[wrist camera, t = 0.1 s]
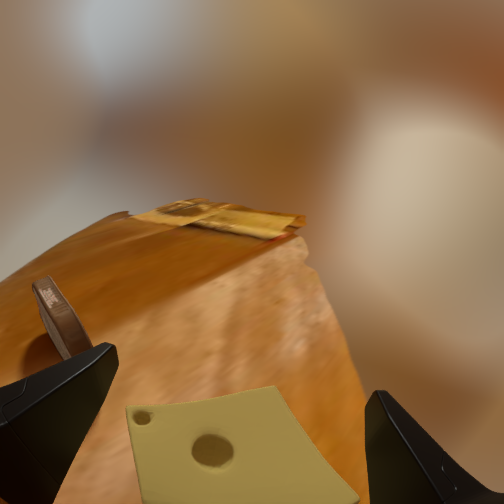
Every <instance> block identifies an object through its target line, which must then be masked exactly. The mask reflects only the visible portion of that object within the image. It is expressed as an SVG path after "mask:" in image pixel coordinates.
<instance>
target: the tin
mask: <svg viewBox="0 0 504 504" xmlns="http://www.w3.org/2000/svg"><path fill="white" fill-rule="evenodd" d="M32 289H33V292H34V294H35V297H36V300H37V303H38V307H39V312H40V316H41V318H42V321H43V323H44V325H45V328H46V330H47V332H48V334H49V336H50V338H51V340H52V341H53V343H54V345H55V347H56V349H57V350H58V352H59V354H60V355H61V357H62V359H63V360H66V359H69V358H71V357H73V356H75V355H77V354H80V353H82V352H84V351H86V350H88V349H91V348H93V345H92V343H91V341H90V339H89V337H88V334H87V332H86V330H85V329H84V327H83V325H82V323H81V321H80V319H79V317H78V315H77V314H76V312H75V311H74V309H73V308H72V306H71V305H70V303H69V302H68V301H67V299H66V298H65V297H64V295H63V294H62V293H61V291H60V290H59V288H58V287H57V285H56V284H55V282H54V281H53V279H52V278H51V277H50V276H49V275H48V276H47V277H45V278H43V279H40V280H37V281H35V282H33V283H32Z"/></svg>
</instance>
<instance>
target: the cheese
mask: <svg viewBox="0 0 504 504" xmlns="http://www.w3.org/2000/svg"><path fill="white" fill-rule="evenodd" d="M126 418H127V424H128V430H129V435H130V440H131V446H132V451H133V455H134V461H135V466H136V471H137V476H138V481H139V487H140V492H141V498H142V502H143V504H358V503H359V501H360V498H359V496H358V495H357V494H356V493H355V492H354V490H353V489H352V488H351V487H350V486H349V485H348V484H347V483H346V482H345V481H344V480H343V479H342V478H341V477H340V476H339V475H338V474H337V472H336V471H335V470H334V469H333V468H332V467H331V466H330V465H329V464H328V462H327V461H326V460H325V459H324V458H323V456H322V455H321V453H320V452H319V451H318V449H317V448H316V447H315V445H314V444H313V442H312V441H311V439H310V438H309V437H308V435H307V434H306V432H305V431H304V429H303V428H302V427H301V425H300V424H299V422H298V421H297V419H296V418H295V416H294V415H293V413H292V412H291V410H290V409H289V407H288V405H287V404H286V402H285V401H284V399H283V397H282V396H281V394H280V392H279V390H278V389H277V387H276V386H269V387H263V388H257V389H252V390H247V391H243V392H239V393H234V394H230V395H225V396H221V397H216V398H211V399H205V400H199V401H192V402H185V403H176V404H163V405H132V406H126Z"/></svg>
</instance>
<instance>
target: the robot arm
mask: <svg viewBox="0 0 504 504" xmlns="http://www.w3.org/2000/svg"><path fill="white" fill-rule="evenodd" d="M118 366H119V360H118V355H117V349H116V346H115V345H113V344H110V343H107V342H104V343H101V344H99V345H97V346H95V347H93V348H91V349H88V350H86V351H84V352H82V353H80V354H77V355H75V356H73V357H71V358H69V359H66V360H64V361H62V362H60V363H57V364H55V365H53V366H51V367H49V368H46V369H44V370H42V371H40V372H37V373H35V374H33V375H30V376H29V377H26V378H24V379H21V380H19V381H16V382H14V383H12V384H9V385H6V386H3V387H0V504H53V502H54V500H55V498H56V495H57V493H58V491H59V489H60V487H61V486H60V485H61V484H62V482H63V480H64V478H65V476H66V474H67V472H68V470H69V468H70V466H71V464H72V462H73V460H74V458H75V456H76V454H77V452H78V450H79V448H80V446H81V444H82V442H83V440H84V438H85V436H86V434H87V432H88V430H89V429H90V427H91V425H92V423H93V421H94V419H95V417H96V415H97V414H98V412H99V410H100V408H101V406H102V404H103V402H104V400H105V398H106V396H107V393H108V391H109V388H110V386H111V384H112V381H113V379H114V376H115V374H116V372H117V369H118ZM365 452H366V461H367V471H368V483H369V495H370V504H504V493H497V492H494V491H491V490H489V489H488V488H486V487H485V486H484V485H482V484H481V483H480V482H479V481H477V480H476V479H475V478H474V477H473V476H471V475H470V474H469V473H468V472H466V471H465V470H464V469H463V468H462V467H460V466H459V464H457V463H456V462H455V461H454V460H453V459H452V458H451V457H450V456H449V455H448V454H447V453H446V452H445V451H444V450H443V449H442V448H441V446H440V445H438V443H437V442H435V440H434V439H433V438H432V437H431V436H430V435H429V434H428V433H427V432H426V431H425V430H424V429H423V428H422V427H421V426H420V425H419V424H418V423H417V422H416V421H415V420H414V419H413V418H412V417H411V416H410V415H409V413H408V412H406V410H405V409H404V408H403V407H402V406H401V405H400V404H399V403H398V402H397V401H396V400H395V399H394V398H393V397H392V396H391V395H390V394H389V393H388V392H387V391H385V390H375V391H374V392H373V394H372V395H371V397H370V399H369V401H368V402H367V404H366V406H365Z"/></svg>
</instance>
